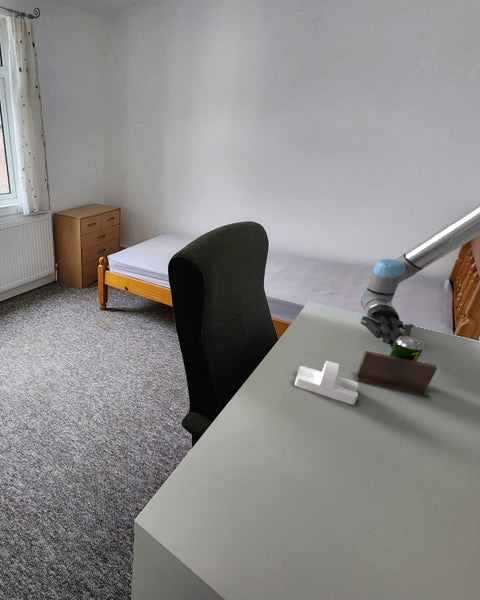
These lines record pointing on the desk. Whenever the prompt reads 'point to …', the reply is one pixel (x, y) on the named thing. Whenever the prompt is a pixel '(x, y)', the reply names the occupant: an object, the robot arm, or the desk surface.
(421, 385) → the wall board
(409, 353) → the beer can
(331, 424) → the desk surface
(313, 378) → the slotted bracket
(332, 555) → the desk surface
